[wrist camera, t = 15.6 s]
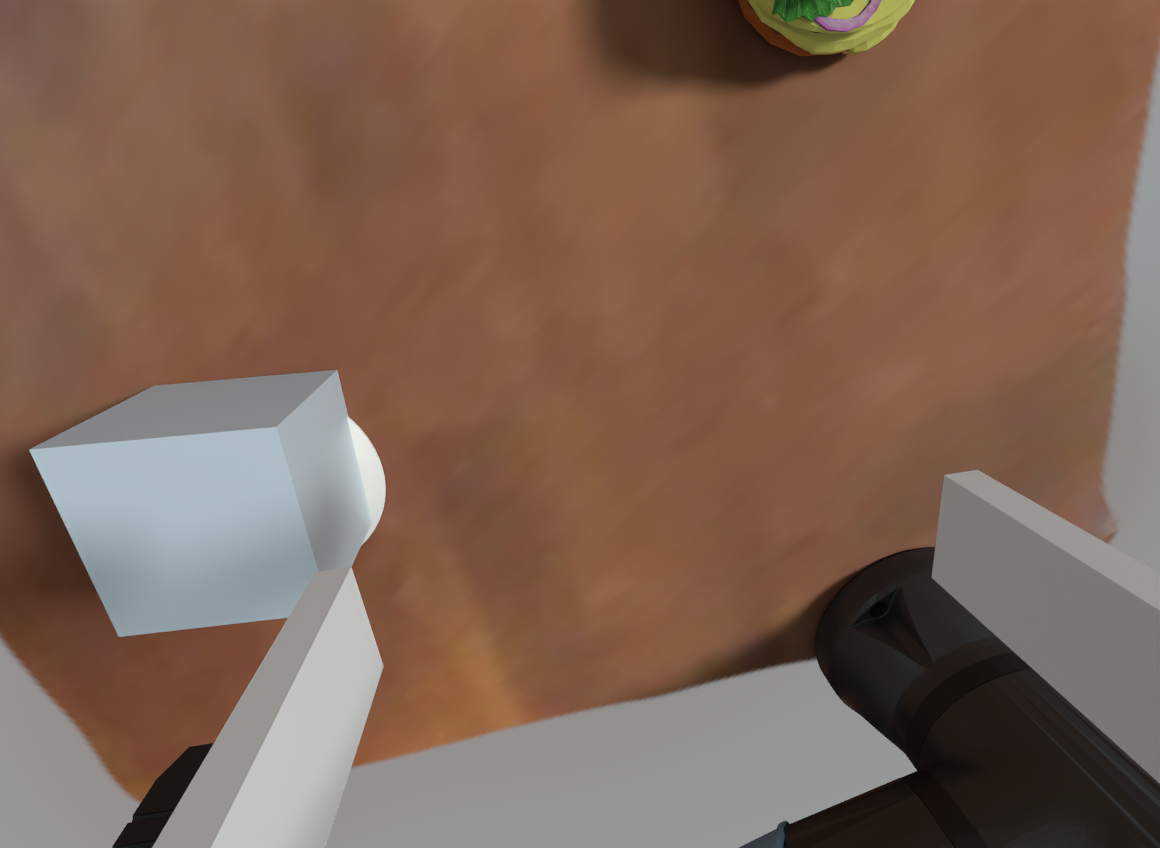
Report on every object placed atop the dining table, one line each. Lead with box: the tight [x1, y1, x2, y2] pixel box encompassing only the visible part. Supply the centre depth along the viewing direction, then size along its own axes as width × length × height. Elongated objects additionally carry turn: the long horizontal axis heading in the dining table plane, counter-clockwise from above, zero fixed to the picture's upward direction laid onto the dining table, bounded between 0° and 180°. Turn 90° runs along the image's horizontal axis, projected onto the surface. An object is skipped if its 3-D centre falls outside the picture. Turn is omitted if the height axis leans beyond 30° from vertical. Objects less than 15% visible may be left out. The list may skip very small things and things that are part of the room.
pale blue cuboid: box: [29, 370, 372, 637], centre depth 30 cm, size 10×10×9 cm
